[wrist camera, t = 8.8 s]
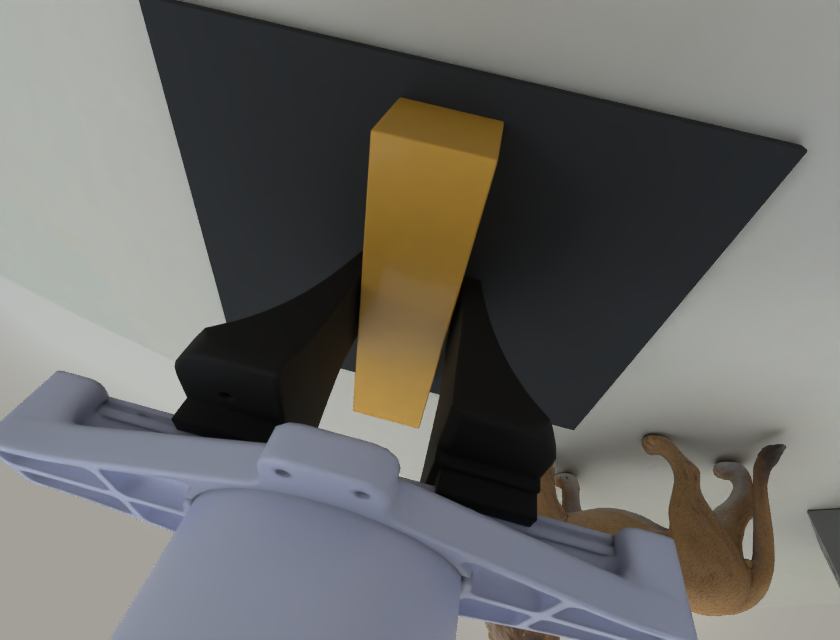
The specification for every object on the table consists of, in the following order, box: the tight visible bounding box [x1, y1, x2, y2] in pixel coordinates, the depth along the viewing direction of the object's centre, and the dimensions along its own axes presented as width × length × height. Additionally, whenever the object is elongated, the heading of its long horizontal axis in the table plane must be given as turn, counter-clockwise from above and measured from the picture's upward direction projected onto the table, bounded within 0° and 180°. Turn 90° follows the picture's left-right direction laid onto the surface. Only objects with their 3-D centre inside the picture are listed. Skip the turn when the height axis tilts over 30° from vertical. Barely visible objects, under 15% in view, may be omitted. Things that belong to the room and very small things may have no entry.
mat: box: [139, 0, 807, 430], centre depth 15 cm, size 18×14×1 cm
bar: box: [353, 97, 504, 428], centre depth 14 cm, size 12×3×3 cm, turn 171°
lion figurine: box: [485, 435, 786, 640], centre depth 18 cm, size 15×5×9 cm, turn 132°
